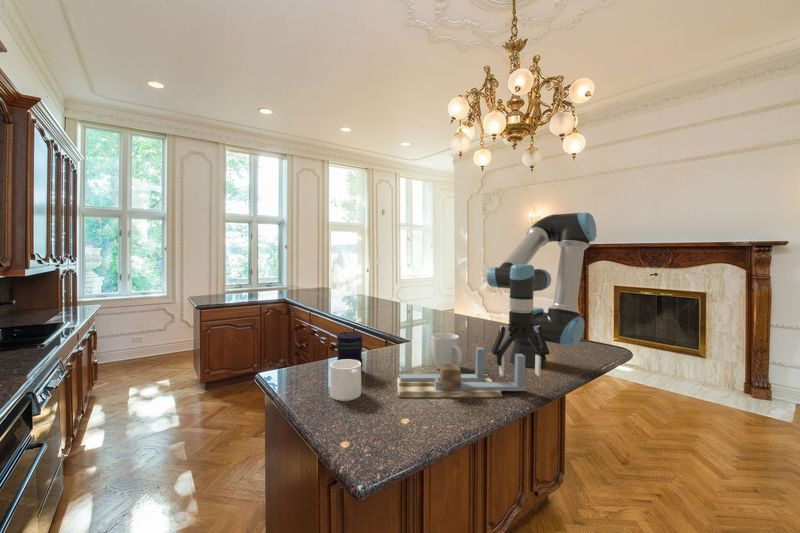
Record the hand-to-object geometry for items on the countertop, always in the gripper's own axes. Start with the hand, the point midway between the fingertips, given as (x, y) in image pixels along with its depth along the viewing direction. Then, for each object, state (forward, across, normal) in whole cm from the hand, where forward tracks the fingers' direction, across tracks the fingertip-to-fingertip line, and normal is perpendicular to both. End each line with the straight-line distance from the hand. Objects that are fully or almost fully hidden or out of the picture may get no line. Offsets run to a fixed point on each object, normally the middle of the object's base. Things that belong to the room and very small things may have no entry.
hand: (519, 375), depth 119 cm
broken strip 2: (+5, +16, -8) cm, 18 cm away
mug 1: (+6, +57, +3) cm, 58 cm away
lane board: (+6, +24, -4) cm, 25 cm away
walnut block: (+3, +24, 0) cm, 24 cm away
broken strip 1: (+5, +33, -8) cm, 34 cm away
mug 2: (+6, +21, -24) cm, 32 cm away
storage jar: (+6, +59, -19) cm, 62 cm away
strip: (+5, +13, 0) cm, 14 cm away
